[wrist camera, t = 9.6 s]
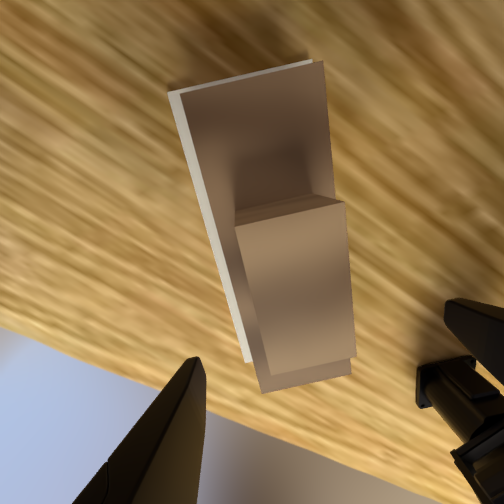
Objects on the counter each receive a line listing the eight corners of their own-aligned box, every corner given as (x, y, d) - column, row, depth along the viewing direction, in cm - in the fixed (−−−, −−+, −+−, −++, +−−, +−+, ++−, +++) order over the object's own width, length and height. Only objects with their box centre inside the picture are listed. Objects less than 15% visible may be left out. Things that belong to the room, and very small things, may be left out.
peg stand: (337, 335, 24) (361, 374, 20) (244, 355, 24) (247, 399, 20) (307, 65, 16) (336, 22, 12) (170, 96, 17) (144, 66, 12)
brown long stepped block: (342, 359, 19) (383, 429, 14) (259, 377, 19) (269, 454, 14) (313, 73, 12) (369, 1, 7) (185, 102, 12) (150, 52, 7)
